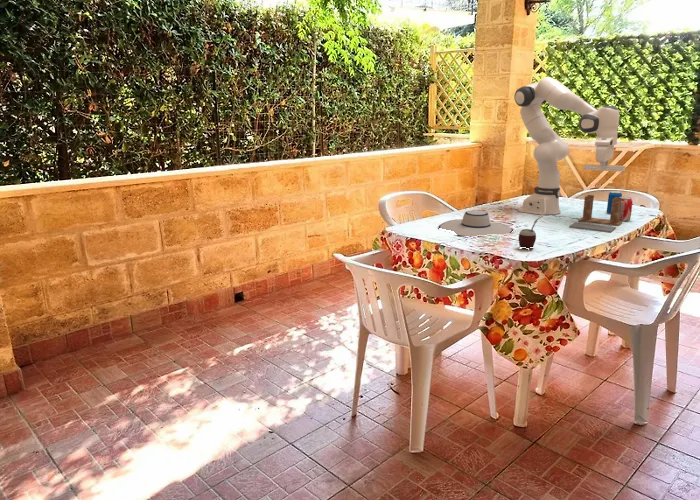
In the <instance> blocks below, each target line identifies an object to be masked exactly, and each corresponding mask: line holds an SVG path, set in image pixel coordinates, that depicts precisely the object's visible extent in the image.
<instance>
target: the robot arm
mask: <svg viewBox="0 0 700 500" xmlns="http://www.w3.org/2000/svg"><path fill="white" fill-rule="evenodd" d="M514 101H515V102H514V103H515V104H516V105H517V106H518V107H521V108H520V109H519V110H520V112H519V113H520V116H521V120H522V122H523V124H524V126H525V128H526V130H527V131H528V133H529V135H530V138H531V139H532V140H533V141H535V143H537V144H538V145H537V146H535V148H534V149H533V157H534V160H535V161H536V164H537V167H538V181H537V182H538V183H537V184H538V185H537V186H535V187H534V188H533V193H531V195H529V196H528V197H526V198H525V199H524V200H523V202H522V206H520V207H518V208H517V211H518V212H520V213H521V212H522V213H527V214H532V215H533V214H534V215H538V216H539V215H540V216H545V215H558V214H560V213H561V210H560V201H559V200H560V195H561V187H560V183H561V171H560V170H559V167H558V161H559V162H560V161H561V160H563V159H565V158H566V157H567V156H568V155H569V153H570V146H569V145H568V143H566V142H565V141H564V140H563V139H561V137H560V136H559V134H557V133H556V132H555V131H554V129H553V127H552V126H551V125H550V123H549V121H548V120H547V118H546V116H545V114H544V112H543V110H542V109H541V108H542V107H541V106H544V105H545V104H546V103H548V105H550V106H551V107H553V108H555V109H558V110H565V111H571V112H575V113H578V114H579V115H581V117H580V118H579V121H578V128H579V130H580V132H582V133H584V134H596V140H595V141H594V142H595V143H594V146H596V147H595V162H598V163H599V165H600V166H601V168H600V170H605V165H609V162H610V160H612V159H613V158H614V150H615V146H616V145H617V143H618V142H617V141H618V127H619V125H620V124H619V123H620V111H619V108H618V107H617V106H612V105H602V106H601V107H599V108H596V107H594V105H592V104H590V102H589V103H588V102H587V101H586V100H585V99H583V98H582V97H580V96H579V95H577V94H575V93H574V92H573V91H572V90H571V89H570V88H568V87H567V86H565V84H564V83H562V82H560V81H559V80H557V79H555V78H553V77H551V76H544V77H543V78H541V79H540V80H539V81H538V82H531V83H530V84H526V85H525V86H521V87H519V88H518V89H516V90H515V92H514ZM600 170H599V171H600Z"/></svg>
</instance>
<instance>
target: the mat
mask: <svg viewBox="0 0 700 500" xmlns="http://www.w3.org/2000/svg"><path fill="white" fill-rule="evenodd" d="M568 228H570V229H579V230H586V231H587V230H588V231H593V232H595V231H596V232H603V233H609V234H610V233H612V232H614V230H616V229H617V226H613V225H605V224H596V223H588V222H579V221H575V222H573V223H572V224H570V225H569V226H568Z"/></svg>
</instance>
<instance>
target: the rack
mask: <svg viewBox="0 0 700 500" xmlns="http://www.w3.org/2000/svg"><path fill="white" fill-rule="evenodd" d="M594 198H595V195H593V194H587V195H585V196H584V202H583V211H582V216H581V217H580V218H579V219H578V223H587V224H595V225H604V226H612V227H620V226H621V225H622V224H623V223H624V222H623V221H619V216H620V208H621V200H622V198H618V197H615V199H613V200H612V208H611V214H610V218H608V219H607V218H598V217H593V208H594Z"/></svg>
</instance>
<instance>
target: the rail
mask: <svg viewBox="0 0 700 500" xmlns="http://www.w3.org/2000/svg"><path fill="white" fill-rule="evenodd" d="M600 168H601V166H600V164H592V163H590V164H587V163H584V165H583V171H602V172H604V171H605V172H606V171H607V172H625V171H626V165H615V164H614V165H611V164H610V165H609V164H608V165H605V170H600Z"/></svg>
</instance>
